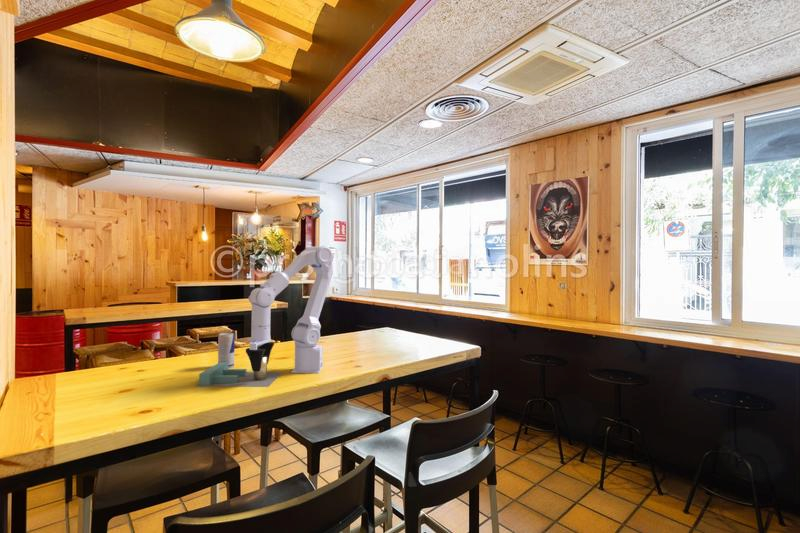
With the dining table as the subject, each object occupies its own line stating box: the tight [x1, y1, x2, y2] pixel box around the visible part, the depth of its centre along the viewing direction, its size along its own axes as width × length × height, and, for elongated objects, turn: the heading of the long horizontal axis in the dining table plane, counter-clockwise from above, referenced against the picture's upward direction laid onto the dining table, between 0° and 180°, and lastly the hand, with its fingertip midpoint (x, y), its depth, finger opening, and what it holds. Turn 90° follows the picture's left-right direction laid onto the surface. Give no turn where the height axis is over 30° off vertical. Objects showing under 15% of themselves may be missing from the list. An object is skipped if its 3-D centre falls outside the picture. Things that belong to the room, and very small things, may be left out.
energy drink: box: [217, 332, 236, 369], centre depth 139 cm, size 5×5×12 cm
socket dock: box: [198, 362, 248, 386], centre depth 124 cm, size 10×14×4 cm
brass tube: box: [253, 356, 268, 381], centre depth 124 cm, size 4×4×7 cm
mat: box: [194, 371, 283, 388], centre depth 124 cm, size 22×16×1 cm
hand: (260, 367), depth 124 cm, fingers open, 7 cm apart
